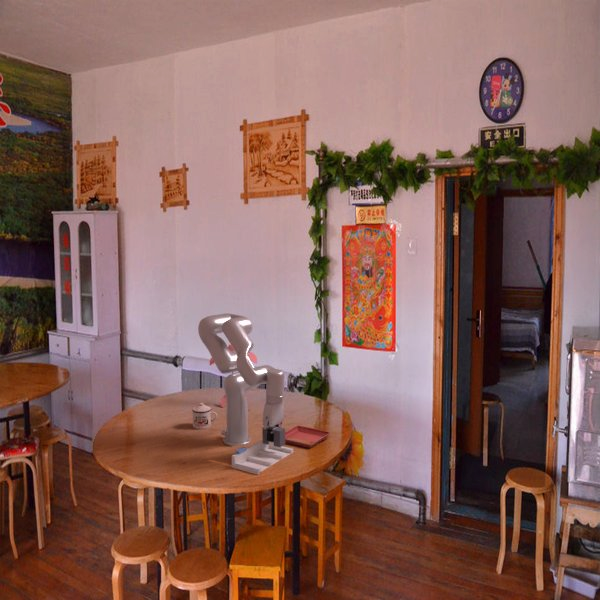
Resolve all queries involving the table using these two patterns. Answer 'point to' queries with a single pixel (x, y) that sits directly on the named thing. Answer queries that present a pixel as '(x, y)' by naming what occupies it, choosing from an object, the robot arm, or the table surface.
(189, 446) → the table surface
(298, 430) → the plant saucer
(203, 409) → the teacup with lid
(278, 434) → the block
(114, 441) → the table surface
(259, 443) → the white ribbed panel
